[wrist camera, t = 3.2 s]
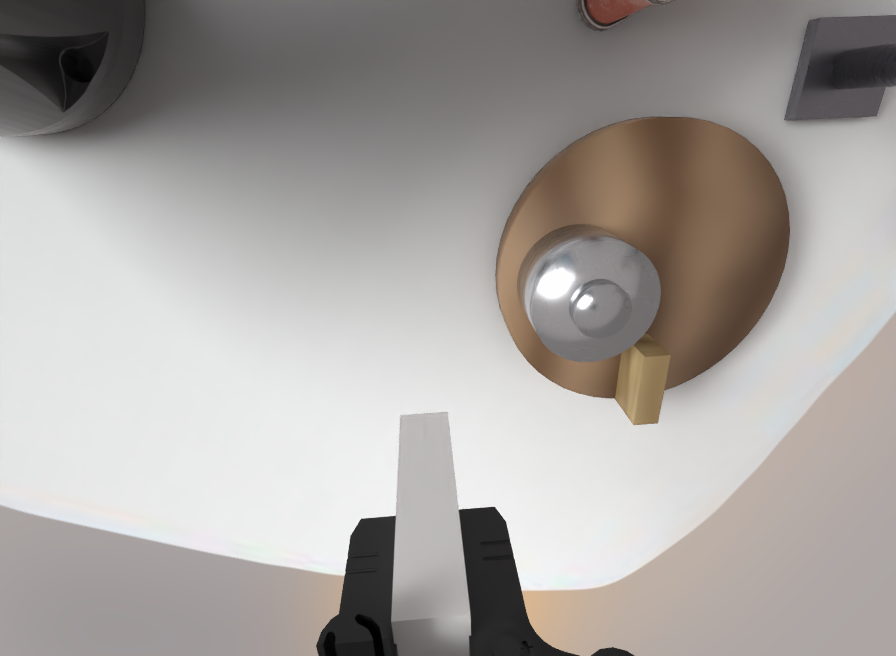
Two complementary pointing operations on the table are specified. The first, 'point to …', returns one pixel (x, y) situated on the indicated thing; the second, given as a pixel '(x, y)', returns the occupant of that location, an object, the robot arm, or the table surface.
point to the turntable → (658, 247)
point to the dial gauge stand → (844, 67)
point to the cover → (587, 292)
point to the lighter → (610, 11)
